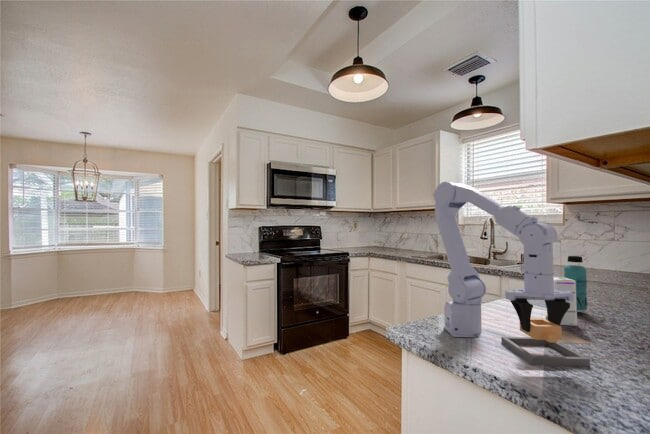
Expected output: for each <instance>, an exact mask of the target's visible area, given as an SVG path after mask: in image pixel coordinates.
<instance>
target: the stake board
mask: <svg viewBox="0 0 650 434" xmlns="http://www.w3.org/2000/svg"><path fill="white" fill-rule="evenodd" d="M545 319H546V320H548V316H547V315H546V316H545ZM557 342H559V343H561V344H575V345H576V344H582V345H583V344H584V345H585V344H587V345H592V343H591V342H589V341H587V340H585V339H583V338H580V337H578V336H576V335H574V334H573V333H570V332H567V331H566V330H562V340H557Z"/></svg>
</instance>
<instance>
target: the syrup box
mask: <svg viewBox="0 0 650 434" xmlns="http://www.w3.org/2000/svg"><path fill="white" fill-rule="evenodd" d="M554 290H555V291H569V292H572V293H574V301H568V300H566V302H568V303H570V308H569V309H568V310H567V312H566V313H565V315H564V316H563V318H562V321H561V324H560V326H561V325H563V326H578V312H577V311H578V310H577V305H576V281H575V280H571V279H568V278H564V276H554ZM546 316H548V312H547V311H546Z"/></svg>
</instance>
